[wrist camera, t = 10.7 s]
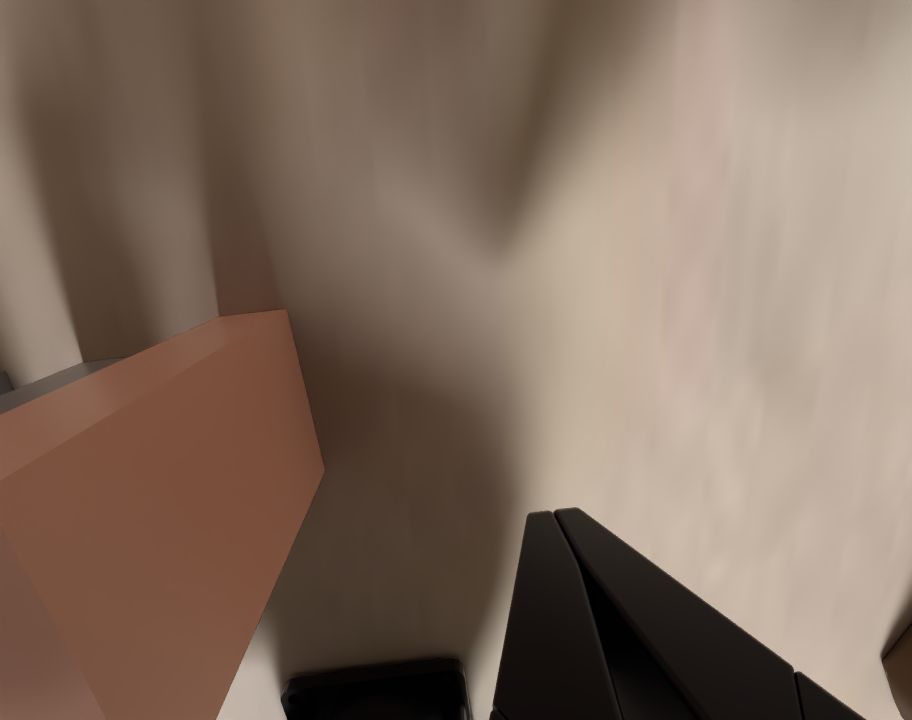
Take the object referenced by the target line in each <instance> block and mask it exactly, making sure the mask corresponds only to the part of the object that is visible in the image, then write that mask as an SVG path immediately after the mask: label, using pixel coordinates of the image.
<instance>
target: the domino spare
mask: <svg viewBox="0 0 912 720" xmlns="http://www.w3.org/2000/svg"><path fill="white" fill-rule="evenodd" d="M324 472H325V469H324V464H323V460H322V456H321V452H320V448H319V443H318V439H317V435H316V431H315V427H314V422H313V418H312V414H311V410H310V406H309V401H308V397H307V393H306V389H305V385H304V380H303V376H302V372H301V368H300V364H299V359H298V355H297V351H296V347H295V343H294V338H293V334H292V330H291V326H290V322H289V317H288V313H287V309H282V310H273V311H264V312H256V313H247V314H238V315H230V316H221V317H217V318H215V319H213V320H211V321H208V322H206V323H204V324H202V325H199V326H197V327H195V328H193V329H190V330H188V331H186V332H184V333H182V334H179V335H177V336H175V337H173V338H170V339H168V340H166V341H164V342H161V343H159V344H157V345H155V346H153V347H150V348H148V349H146V350H144V351H141V352H139V353H137V354H135V355H132V356H130V357H128V358H126V359H124V360H121V361H119V362H117V363H115V364H112V365H110V366H108V367H106V368H103V369H101V370H99V371H97V372H95V373H92V374H90V375H88V376H86V377H83V378H81V379H79V380H77V381H74V382H72V383H70V384H68V385H66V386H63V387H61V388H59V389H57V390H54V391H52V392H50V393H48V394H45V395H43V396H41V397H39V398H37V399H34V400H32V401H30V402H28V403H25V404H23V405H21V406H19V407H16V408H14V409H12V410H10V411H8V412H5V413H3V414H1V415H0V720H216V718H217V716H218V714H219V711H220V709H221V707H222V705H223V702H224V700H225V698H226V695H227V693H228V691H229V689H230V686H231V684H232V682H233V680H234V677H235V675H236V673H237V670H238V668H239V666H240V664H241V661H242V659H243V657H244V654H245V652H246V650H247V648H248V645H249V643H250V641H251V639H252V636H253V634H254V632H255V629H256V627H257V625H258V623H259V620H260V618H261V616H262V613H263V611H264V609H265V607H266V604H267V602H268V600H269V598H270V595H271V593H272V591H273V588H274V586H275V584H276V582H277V579H278V577H279V575H280V572H281V570H282V568H283V566H284V563H285V561H286V559H287V556H288V554H289V552H290V550H291V547H292V545H293V543H294V541H295V538H296V536H297V534H298V531H299V529H300V527H301V525H302V522H303V520H304V518H305V515H306V513H307V511H308V509H309V506H310V504H311V502H312V500H313V497H314V495H315V493H316V490H317V488H318V486H319V484H320V481H321V479H322V477H323V474H324Z"/></svg>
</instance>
